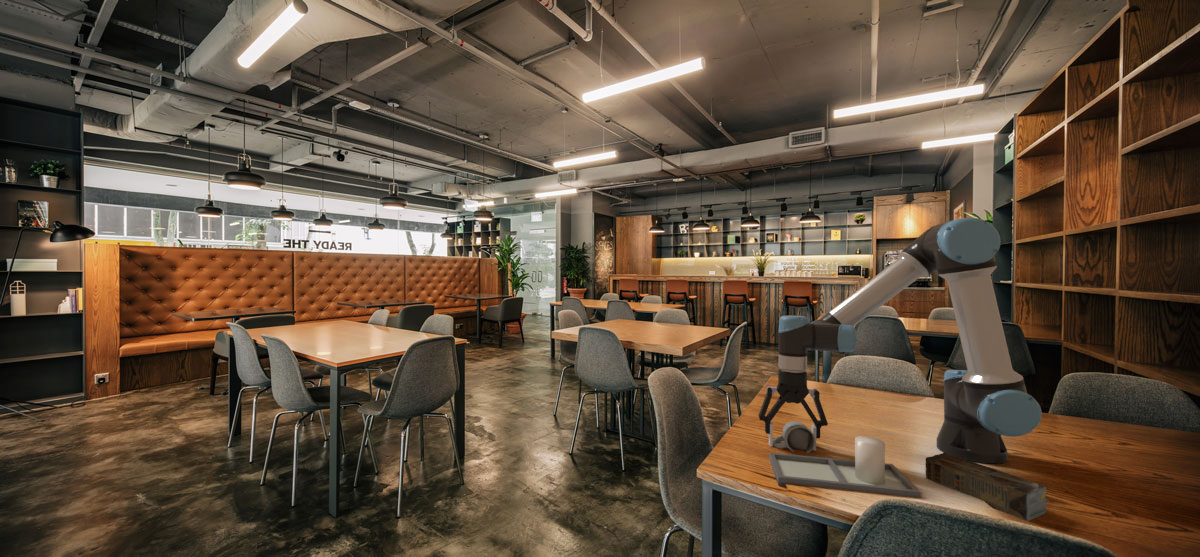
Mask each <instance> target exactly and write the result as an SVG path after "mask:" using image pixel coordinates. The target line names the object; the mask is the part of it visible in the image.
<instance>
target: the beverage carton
mask: <svg viewBox="0 0 1200 557" xmlns="http://www.w3.org/2000/svg"><path fill="white" fill-rule="evenodd" d="M925 479H926V480H928V481H930V482H933V483H936V484H939V485H941V486H943V487H946V488H949V489H951V490H954V491H956V492H959V493H962V494H964V495H967V496H970V497H972V498H974V499H976V500H980V501H983V502H984V503H985V504H987V505H988V506H989V507H991V508H993V509H995V510H998V511H999V512H1002V513H1005V514H1008V515H1011V516H1013V517H1016V518H1019V519H1021V520H1024V521H1026V522H1029V521H1032V520H1034V519H1036V518H1039V517H1041V516H1044V515H1045V514H1046V512H1047V496H1046V495H1047V488H1046V486H1045V485H1041V484H1038V483H1036V482H1034V481H1030V480H1026V479H1023V478H1021V477H1020V476H1019V477H1018V476H1016V475H1012V474H1010V473H1008V472H1004V471H1001V470H998V469H996V468H992V467H989V466H986V465H983V464H979V462H976V461H971V460H966V459H963V458H960V457H957V456H954V455H951V454H947V453H945V452H942V453H938V454H935V455H932V456H928V457H925Z"/></svg>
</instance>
